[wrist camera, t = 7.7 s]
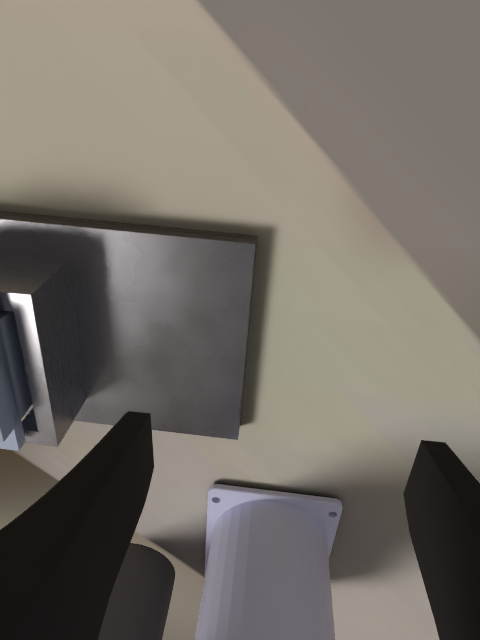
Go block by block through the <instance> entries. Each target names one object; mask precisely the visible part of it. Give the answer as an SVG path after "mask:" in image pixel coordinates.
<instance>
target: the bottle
mask: <svg viewBox="0 0 480 640" xmlns="http://www.w3.org/2000/svg"><path fill="white" fill-rule="evenodd" d="M174 579H175V571H174V567H173V565H172V564H171V562H170V561H169V560H168V559H167V558H166V557H165V556H164V555H163V554H161V553H160V552H158V551H156V550H154V549H152V548H149V547H146V546H143V545H139V544H133V543H130V544H129V547H128V550H127V552H126V555H125V558H124V560H123V563H122V565H121V568H120V571H119V573H118V576H117V579H116V581H115V584H114V587H113V590H112V593H111V596H110V599H109V602H108V605H107V609H106V612H105V616H104V619H103V623H102V626H101V630H100V633H99V637H98V640H162V637H163V632H164V627H165V623H166V618H167V614H168V609H169V605H170V600H171V595H172V590H173V584H174Z"/></svg>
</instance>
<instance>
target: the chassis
mask: <svg viewBox="0 0 480 640" xmlns="http://www.w3.org/2000/svg"><path fill="white" fill-rule="evenodd" d="M256 240H257V236H250V235H240V234H230V233H219V232H209V231H199V230H188V229H178V228H168V227H157V226H147V225H137V224H126V223H116V222H106V221H95V220H85V219H74V218H64V217H54V216H43V215H33V214H23V213H12V212H2V211H0V310H3V311H13V312H14V316H15V320H16V325H17V330H18V335H19V340H20V345H21V350H22V355H23V360H24V364H25V369H26V374H27V379H28V384H29V389H30V394H31V399H32V405H31V407H30V408H29V409H28V411H27V412H26V413H25V415H27V416H26V417H25V419H24V420H23V421H22V426H23V431H24V435H25V440H26V441H25V443H31V444H39V445H48V446H56V447H58V446H59V444H60V442H61V441H62V439H63V437H64V436H65V434H66V432H67V431H68V429H69V427H70V426H71V424H72V422H73V421H83V422H91V423H100V424H108V425H115V424H116V423H117V422H118V421H119V420H120V419H121V418H122V416H123V415H124V414H125V413H127V412H128V411H132V412H142V413H151V428H152V430H159V431H168V432H176V433H185V434H193V435H202V436H210V437H219V438H227V439H236V440H238V435H239V428H240V417H241V406H242V395H243V384H244V373H245V362H246V351H247V340H248V329H249V318H250V307H251V296H252V285H253V273H254V262H255V251H256Z"/></svg>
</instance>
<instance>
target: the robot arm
mask: <svg viewBox="0 0 480 640" xmlns="http://www.w3.org/2000/svg"><path fill="white" fill-rule="evenodd" d="M153 469H154V459H153V444H152V428H151V413H142V412H132V411H128V412H127V413H125V414H124V415H123V416H122V418H121V419H120V420H119V421H118V422H117V423H116V424H115V425H114V426H113V428H112V429H111V430H110V431H109V432H108V433H107V434H106V435H105V436H104V437H103V438H102V440H101V441H100V442H99V443H98V444H97V445H96V446H95V447H94V448H93V449H92V450H91V451H90V452H89V453H88V454H87V455H86V456H85V457H84V458H83V459H82V460H81V461H80V462H79V463H78V464H77V465H76V466H75V467H74V468H73V469H72V470H71V471H70V472H69V473H68V474H67V475H66V476H64V477H63V478H62V479H61V480H60V481H59V482H58V483H57V484H56V485H55V486H53V487H52V488H51V489H50V490H49V491H48V492H47V493H46V494H45V495H44V496H42V497H41V498H40V499H39V500H38V501H37V502H35V503H34V504H33V505H32V506H30V507H29V508H28V509H27V510H26V511H24V512H23V513H22V514H21V515H19V516H18V517H17V518H15V519H14V520H13V521H12V522H10V523H9V524H8V525H6V526H5V527H4V528H2V529H1V530H0V640H98V637H99V633H100V630H101V626H102V623H103V619H104V616H105V612H106V609H107V605H108V602H109V599H110V596H111V593H112V590H113V587H114V584H115V581H116V579H117V576H118V573H119V571H120V568H121V565H122V563H123V560H124V558H125V555H126V552H127V550H128V547H129V544H130V542H131V539H132V536H133V534H134V531H135V529H136V526H137V523H138V521H139V518H140V515H141V513H142V510H143V507H144V504H145V501H146V497H147V493H148V490H149V486H150V482H151V478H152V473H153ZM216 497H217V498H216ZM404 499H405V506H406V513H407V519H408V525H409V531H410V535H411V539H412V543H413V546H414V550H415V553H416V557H417V560H418V564H419V567H420V571H421V574H422V578H423V581H424V585H425V588H426V592H427V595H428V599H429V602H430V605H431V609H432V612H433V616H434V619H435V623H436V627H437V631H438V635H439V639H440V640H480V483H479V482H478V481H477V480H476V479H475V478H474V476H473V475H472V474H471V473H470V472H469V470H468V469H467V468H466V467H465V466H464V464H463V463H462V462H461V461H460V460H459V458H458V457H457V456H456V455H455V454H454V452H453V451H452V450H451V449H450V448H449V446H448V445H447V444H446V443H444V442H434V441H424V440H421V443H420V446H419V449H418V452H417V455H416V458H415V461H414V464H413V467H412V470H411V473H410V476H409V479H408V482H407V485H406V488H405V491H404ZM342 510H343V507H342V502H341V501H340V500H338V499H335V498H328V497H320V496H311V495H303V494H295V493H287V492H279V491H271V490H262V489H254V488H246V487H238V486H230V485H222V484H213V485H211V486H210V487H209V491H208V507H207V528H206V548H205V568H204V578H205V581H204V587H203V593H202V599H201V605H200V611H199V618H198V625H197V630H196V636H195V640H335V632H334V620H333V608H332V595H331V583H330V571H329V557H330V554H331V550H332V546H333V543H334V539H335V535H336V532H337V528H338V524H339V521H340V517H341V513H342Z"/></svg>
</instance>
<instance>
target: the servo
mask: <svg viewBox="0 0 480 640" xmlns="http://www.w3.org/2000/svg"><path fill="white" fill-rule="evenodd" d="M31 405H32V399H31V394H30V389H29V384H28V379H27V374H26V369H25V364H24V360H23V355H22V350H21V345H20V340H19V335H18V330H17V325H16V320H15V316H14V312H13V311H3V310H0V448H1V449H9V450H17V451H19V450H20V448H21V447H22V446H23V444H24V443H25V441H26V440H25V435H24V431H23V426H22V421H21V419H22V417H23V416H24V415H25V413H26V412H27V411H28V409H29V408H30V407H31Z"/></svg>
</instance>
